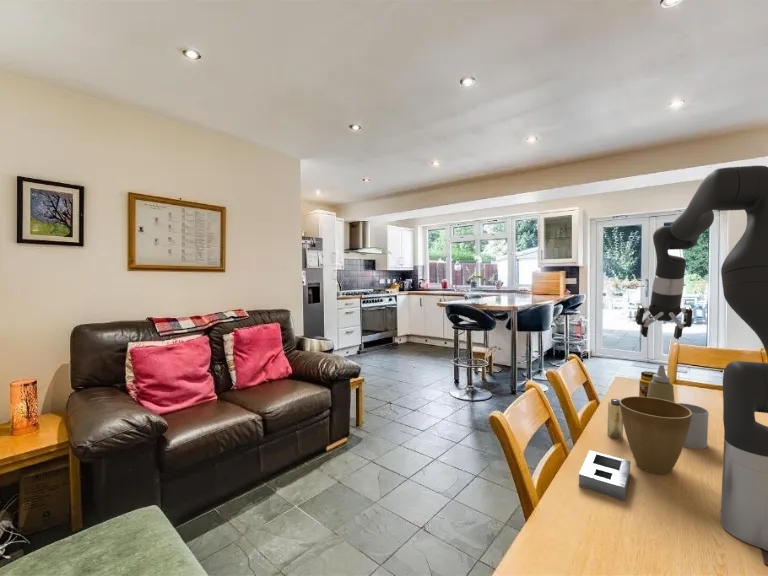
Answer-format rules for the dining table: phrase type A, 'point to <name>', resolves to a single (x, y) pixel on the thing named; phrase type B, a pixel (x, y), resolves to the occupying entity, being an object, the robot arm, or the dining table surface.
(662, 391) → the squeeze bottle
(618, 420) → the spice shaker
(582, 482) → the steel socket block
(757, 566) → the dining table surface
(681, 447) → the plant pot
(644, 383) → the condiment
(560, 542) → the dining table surface
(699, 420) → the cup
